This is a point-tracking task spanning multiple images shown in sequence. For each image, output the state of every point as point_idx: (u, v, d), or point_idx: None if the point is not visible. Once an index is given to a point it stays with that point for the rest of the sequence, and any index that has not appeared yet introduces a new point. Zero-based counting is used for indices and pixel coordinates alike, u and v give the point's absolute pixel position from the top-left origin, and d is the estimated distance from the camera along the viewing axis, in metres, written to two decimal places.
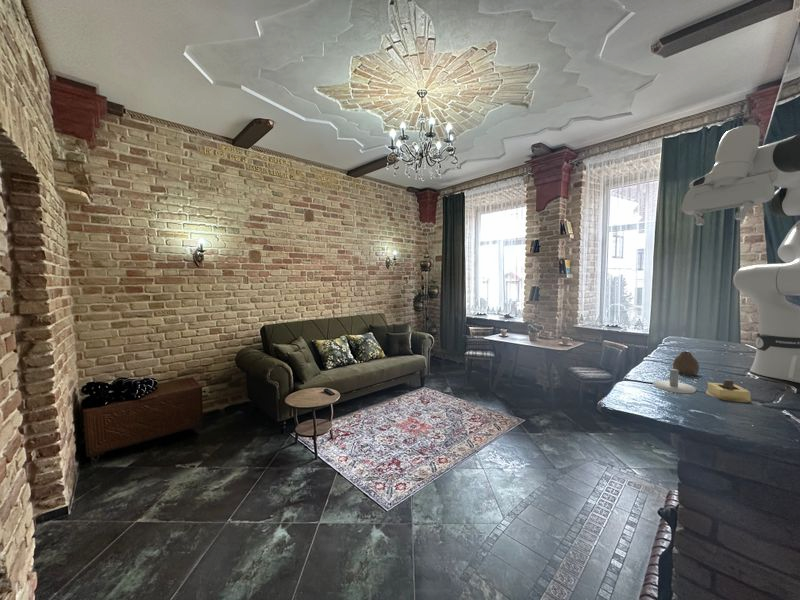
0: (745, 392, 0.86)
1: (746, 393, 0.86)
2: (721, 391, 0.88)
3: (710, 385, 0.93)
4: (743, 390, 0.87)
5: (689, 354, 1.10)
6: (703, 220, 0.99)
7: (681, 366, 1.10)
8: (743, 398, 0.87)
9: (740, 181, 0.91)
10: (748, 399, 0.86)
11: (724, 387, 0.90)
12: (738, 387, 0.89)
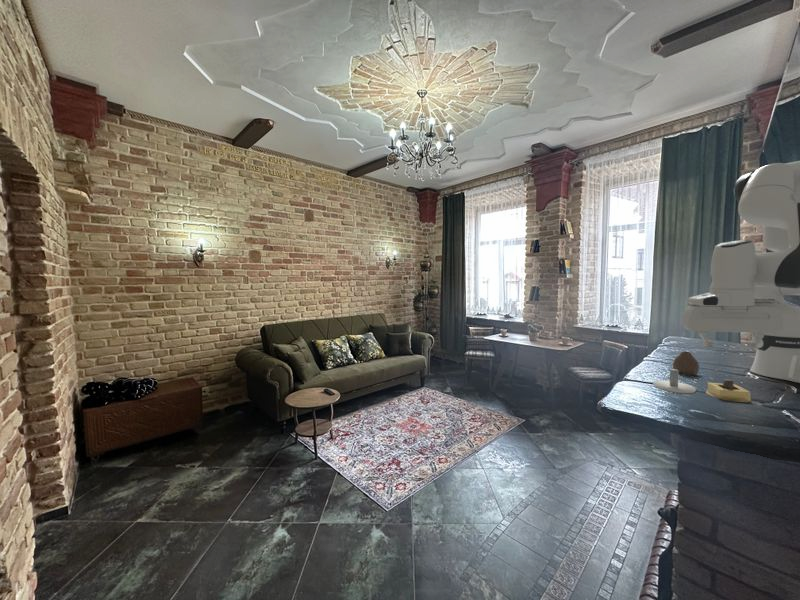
0: (745, 392, 0.86)
1: (746, 393, 0.86)
2: (721, 391, 0.88)
3: (710, 385, 0.93)
4: (743, 390, 0.87)
5: (689, 354, 1.10)
6: None
7: (681, 366, 1.10)
8: (743, 398, 0.87)
9: (753, 309, 0.85)
10: (748, 399, 0.86)
11: (724, 387, 0.90)
12: (738, 387, 0.89)
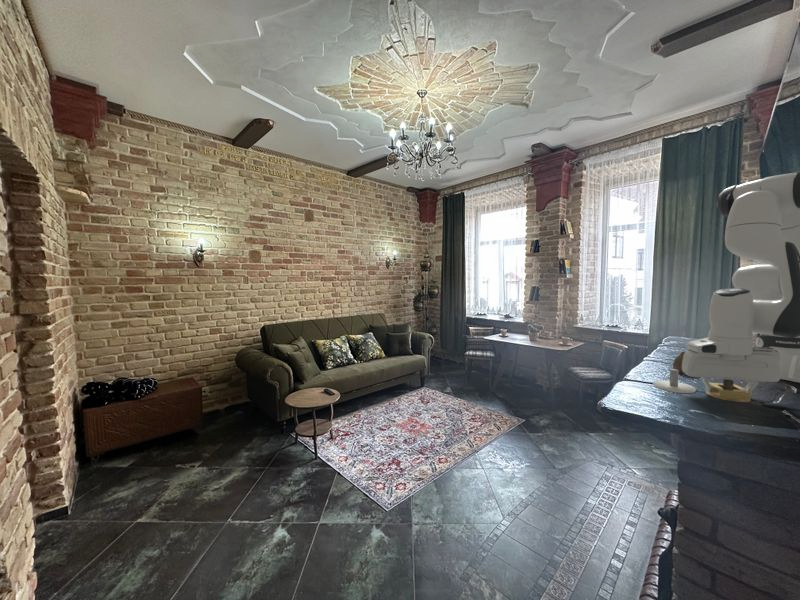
0: (745, 392, 0.86)
1: (746, 393, 0.86)
2: (721, 391, 0.88)
3: None
4: (743, 390, 0.87)
5: None
6: None
7: (681, 366, 1.10)
8: (743, 399, 0.87)
9: (751, 358, 0.86)
10: (748, 399, 0.86)
11: (724, 387, 0.90)
12: (738, 387, 0.89)
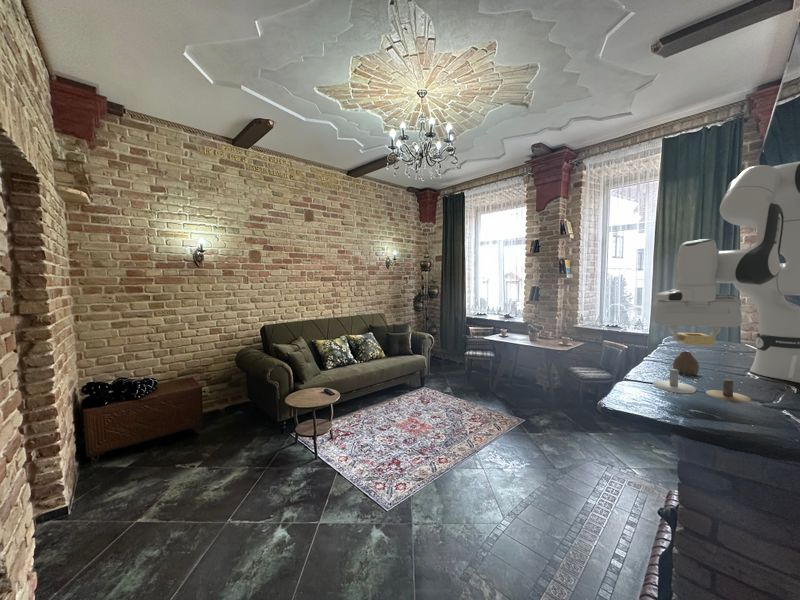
0: (709, 337, 0.90)
1: (710, 338, 0.90)
2: (687, 337, 0.92)
3: None
4: (707, 336, 0.91)
5: (689, 354, 1.10)
6: None
7: (681, 366, 1.10)
8: (707, 344, 0.90)
9: (714, 304, 0.90)
10: (712, 344, 0.90)
11: (724, 387, 0.90)
12: (703, 334, 0.93)
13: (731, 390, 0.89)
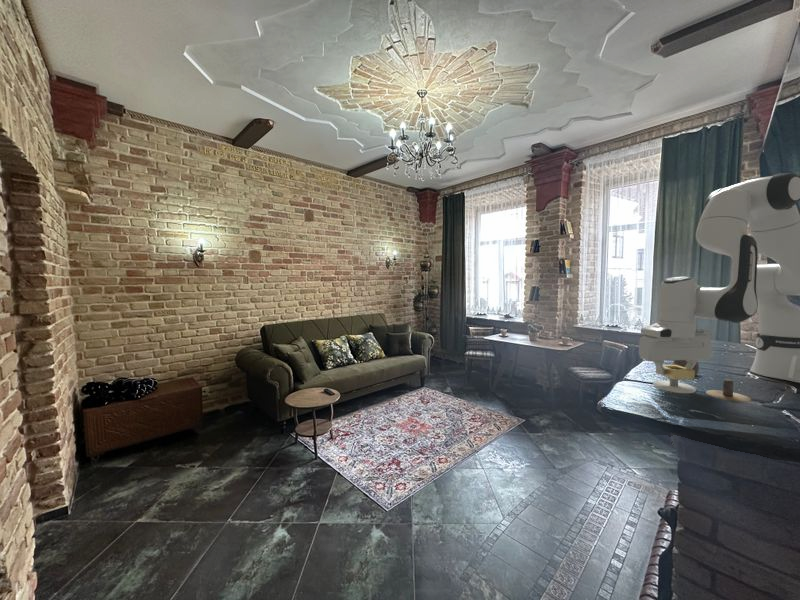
0: (691, 371, 0.94)
1: (692, 372, 0.94)
2: (674, 372, 0.94)
3: None
4: (688, 369, 0.95)
5: None
6: None
7: None
8: (689, 377, 0.94)
9: (693, 339, 0.95)
10: (693, 377, 0.94)
11: (724, 387, 0.90)
12: (681, 367, 0.98)
13: (731, 390, 0.89)
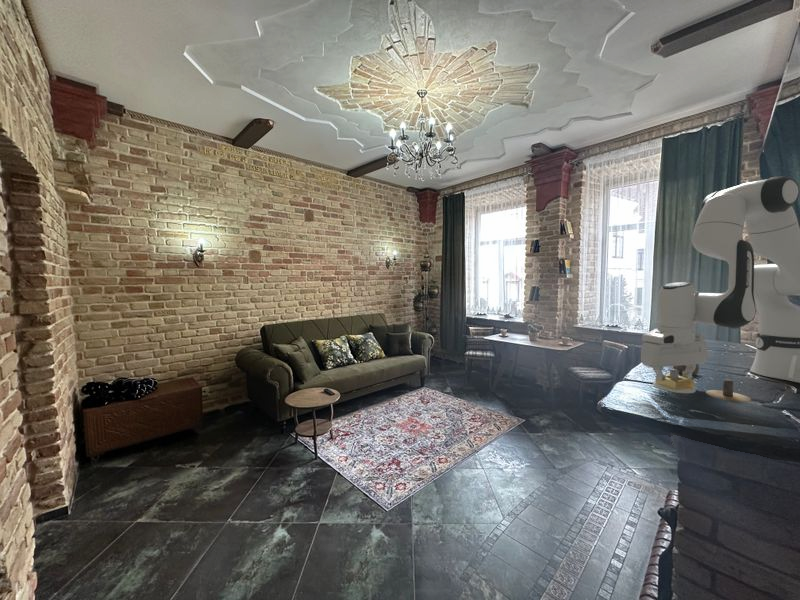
0: (691, 381, 0.95)
1: (691, 382, 0.95)
2: (676, 383, 0.94)
3: None
4: (687, 379, 0.96)
5: None
6: None
7: (681, 366, 1.10)
8: (689, 387, 0.95)
9: (691, 344, 0.96)
10: (692, 387, 0.95)
11: (724, 387, 0.90)
12: (679, 376, 0.98)
13: (731, 390, 0.89)
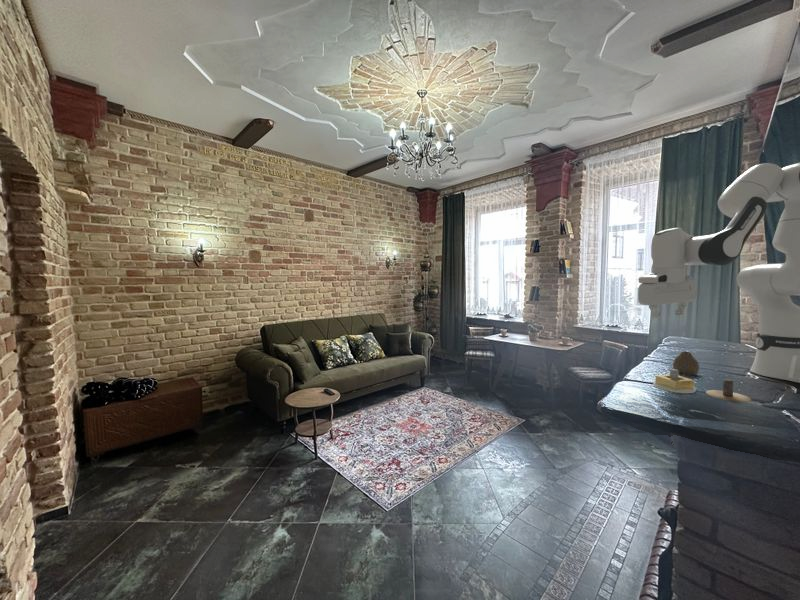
0: (691, 381, 0.95)
1: (691, 382, 0.95)
2: (676, 383, 0.94)
3: (660, 378, 0.99)
4: (687, 379, 0.96)
5: (689, 354, 1.10)
6: None
7: (681, 366, 1.10)
8: (689, 387, 0.95)
9: (682, 284, 1.07)
10: (692, 387, 0.95)
11: (724, 387, 0.90)
12: (679, 376, 0.98)
13: (731, 390, 0.89)
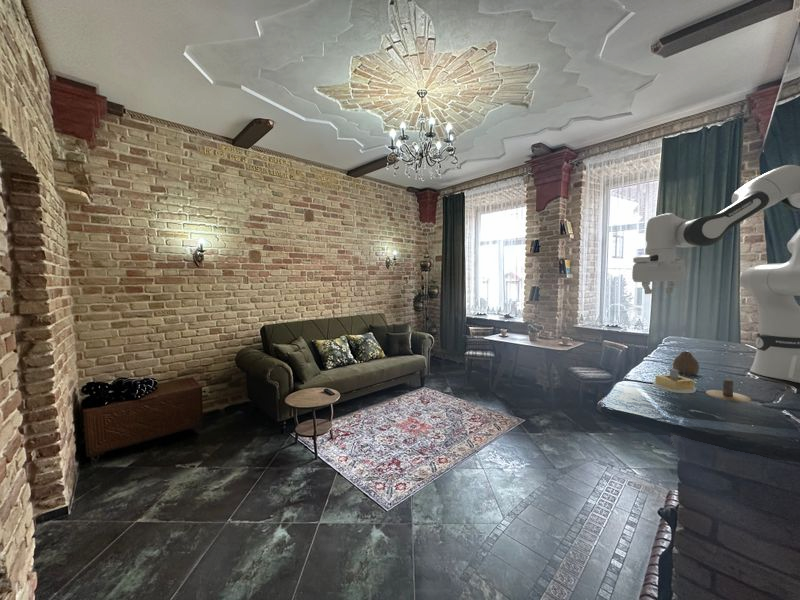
0: (691, 381, 0.95)
1: (691, 382, 0.95)
2: (676, 383, 0.94)
3: (660, 378, 0.99)
4: (687, 379, 0.96)
5: (689, 354, 1.10)
6: None
7: (681, 366, 1.10)
8: (689, 387, 0.95)
9: (672, 264, 1.19)
10: (692, 387, 0.95)
11: (724, 387, 0.90)
12: (679, 376, 0.98)
13: (731, 390, 0.89)
